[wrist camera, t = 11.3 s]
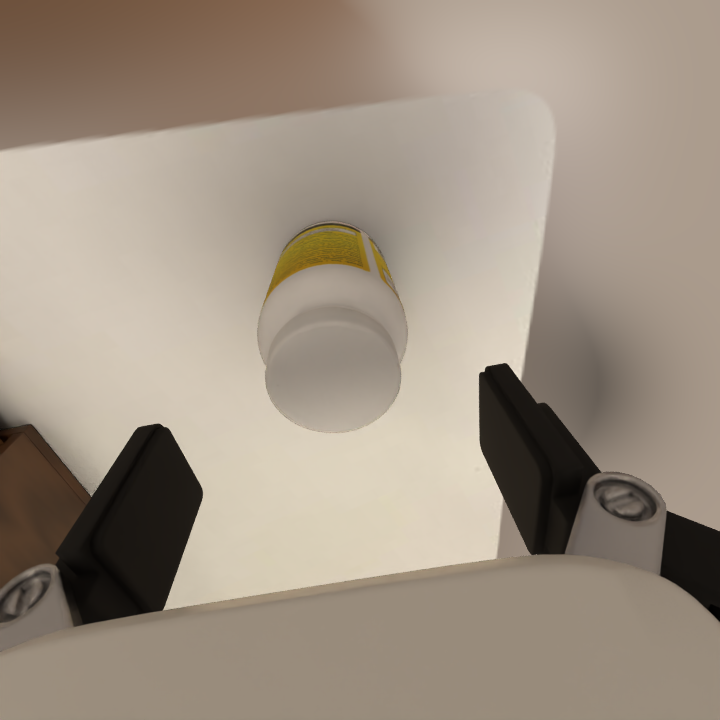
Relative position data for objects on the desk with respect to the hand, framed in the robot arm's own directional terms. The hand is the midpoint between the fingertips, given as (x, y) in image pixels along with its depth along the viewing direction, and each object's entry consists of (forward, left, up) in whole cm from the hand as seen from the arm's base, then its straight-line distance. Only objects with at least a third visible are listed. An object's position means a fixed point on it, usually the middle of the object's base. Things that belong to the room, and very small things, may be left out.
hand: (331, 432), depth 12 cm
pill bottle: (0, 0, -13) cm, 13 cm away
